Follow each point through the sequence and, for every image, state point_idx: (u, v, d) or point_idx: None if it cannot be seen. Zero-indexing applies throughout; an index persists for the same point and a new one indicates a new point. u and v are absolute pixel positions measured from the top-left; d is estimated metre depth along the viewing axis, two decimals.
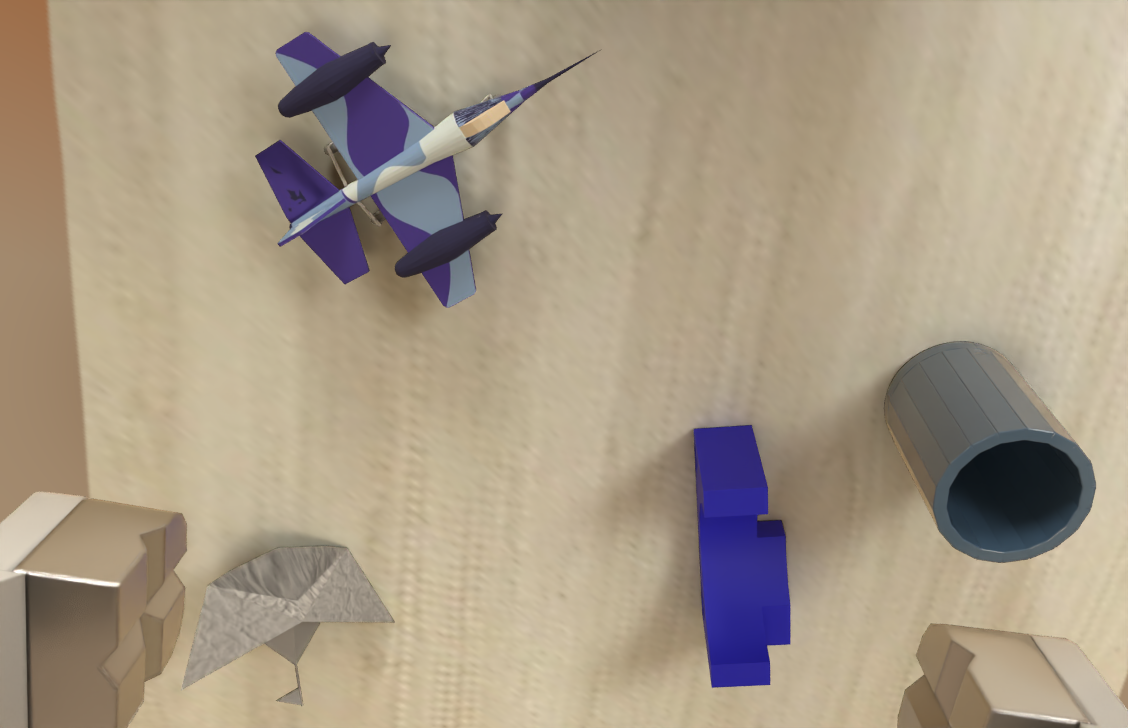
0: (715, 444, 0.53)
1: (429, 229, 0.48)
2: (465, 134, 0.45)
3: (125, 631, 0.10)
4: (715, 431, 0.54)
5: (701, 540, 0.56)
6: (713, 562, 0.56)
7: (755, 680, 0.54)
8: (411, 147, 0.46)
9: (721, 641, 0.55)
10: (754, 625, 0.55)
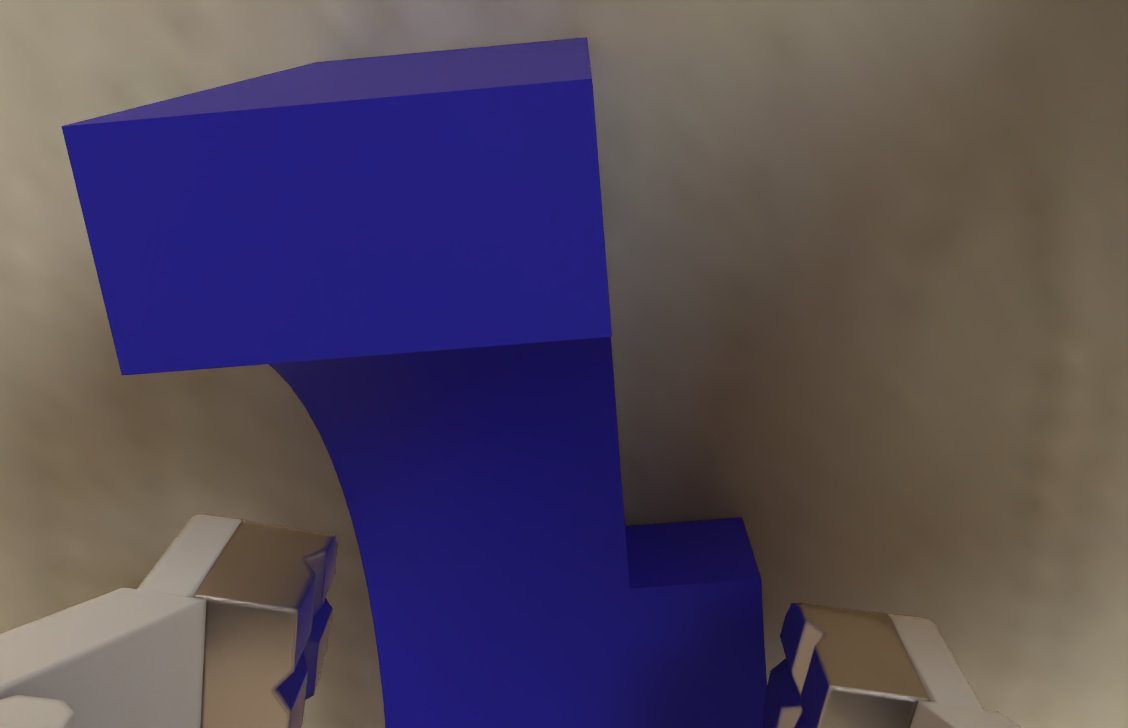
0: (373, 64, 0.10)
1: None
2: None
3: (298, 655, 0.10)
4: (409, 55, 0.11)
5: (375, 603, 0.12)
6: (437, 706, 0.12)
7: None
8: None
9: None
10: None
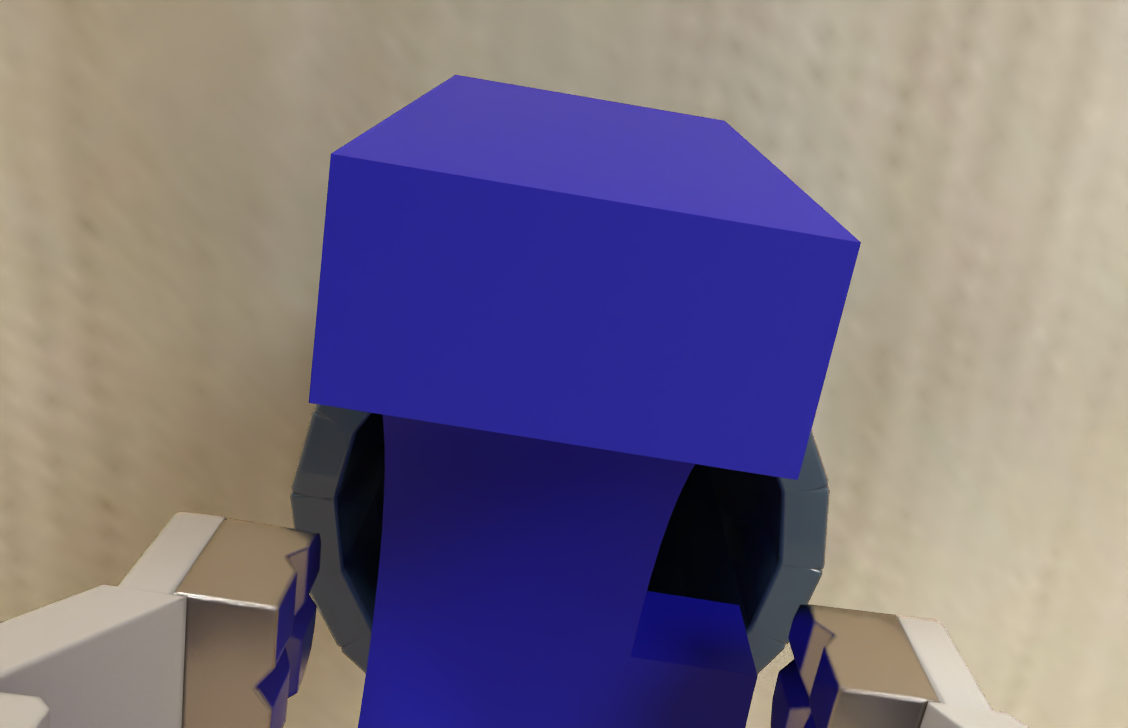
0: (536, 105, 0.10)
1: None
2: None
3: (279, 653, 0.10)
4: (555, 96, 0.11)
5: (379, 616, 0.12)
6: None
7: None
8: None
9: None
10: None
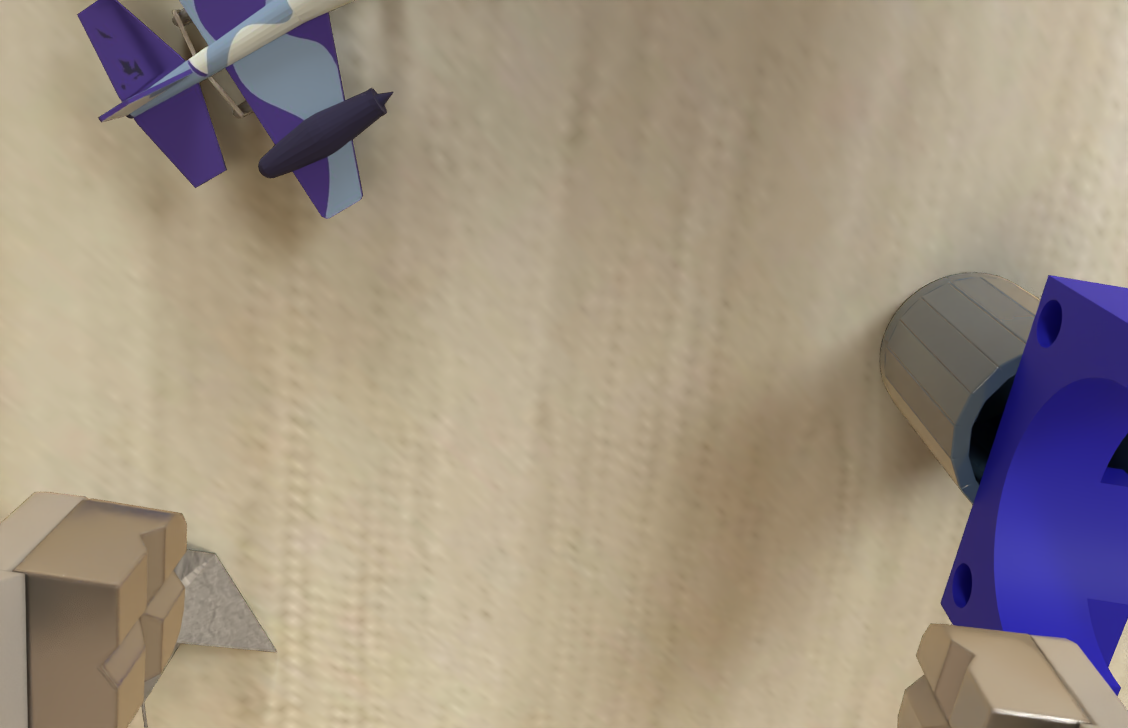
0: (1105, 295, 0.31)
1: (301, 113, 0.38)
2: None
3: (125, 631, 0.10)
4: (1090, 284, 0.32)
5: (1011, 467, 0.33)
6: (1018, 509, 0.34)
7: None
8: (275, 0, 0.36)
9: None
10: (1078, 625, 0.32)
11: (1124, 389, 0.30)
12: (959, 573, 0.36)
